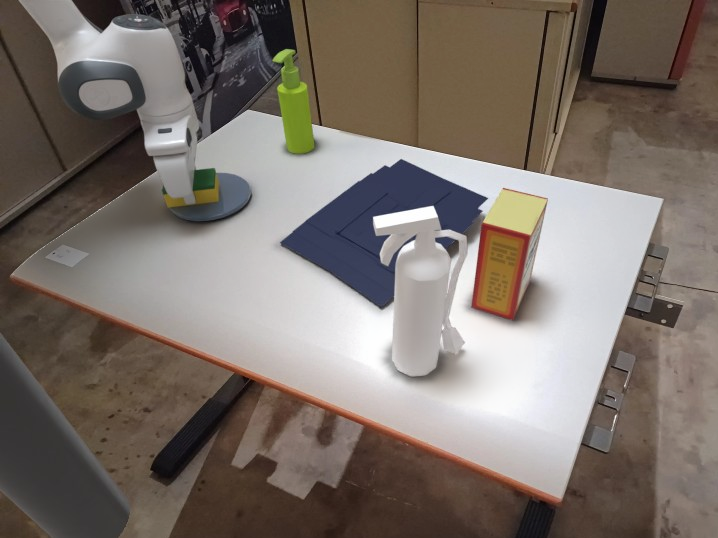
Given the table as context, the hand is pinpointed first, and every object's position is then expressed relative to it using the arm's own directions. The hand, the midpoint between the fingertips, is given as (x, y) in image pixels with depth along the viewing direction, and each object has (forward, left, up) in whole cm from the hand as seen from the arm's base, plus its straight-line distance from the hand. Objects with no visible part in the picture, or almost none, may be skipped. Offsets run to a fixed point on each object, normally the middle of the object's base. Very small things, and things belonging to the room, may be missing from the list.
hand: (192, 190), depth 102 cm
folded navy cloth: (+34, -17, -3) cm, 38 cm away
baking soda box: (+48, -36, -3) cm, 60 cm away
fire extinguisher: (+33, -46, -3) cm, 57 cm away
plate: (+3, 0, -2) cm, 4 cm away
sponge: (0, 0, -1) cm, 1 cm away
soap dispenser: (+21, +16, -3) cm, 26 cm away
